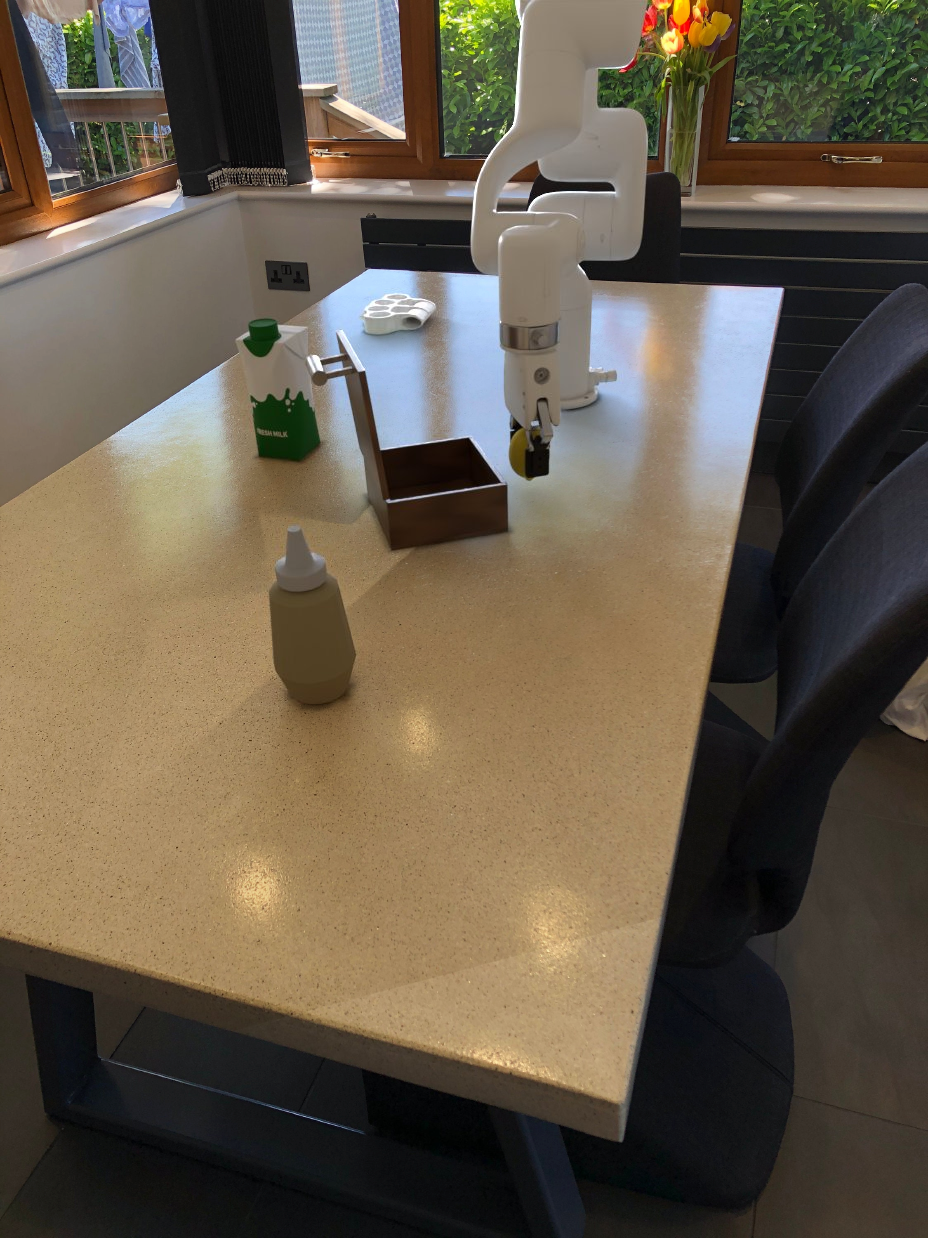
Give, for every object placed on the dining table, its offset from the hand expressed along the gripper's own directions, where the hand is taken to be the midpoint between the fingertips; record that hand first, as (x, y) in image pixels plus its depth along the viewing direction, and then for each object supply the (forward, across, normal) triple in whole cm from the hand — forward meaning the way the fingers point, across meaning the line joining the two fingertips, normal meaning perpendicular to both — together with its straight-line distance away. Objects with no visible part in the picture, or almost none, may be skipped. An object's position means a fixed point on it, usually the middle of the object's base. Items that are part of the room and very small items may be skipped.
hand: (529, 465), depth 125 cm
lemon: (+2, 0, 0) cm, 2 cm away
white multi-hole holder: (+4, +84, +1) cm, 84 cm away
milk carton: (+4, +25, +30) cm, 39 cm away
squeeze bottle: (+4, -35, +34) cm, 49 cm away
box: (+4, -3, +14) cm, 15 cm away
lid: (-12, -3, +22) cm, 25 cm away
